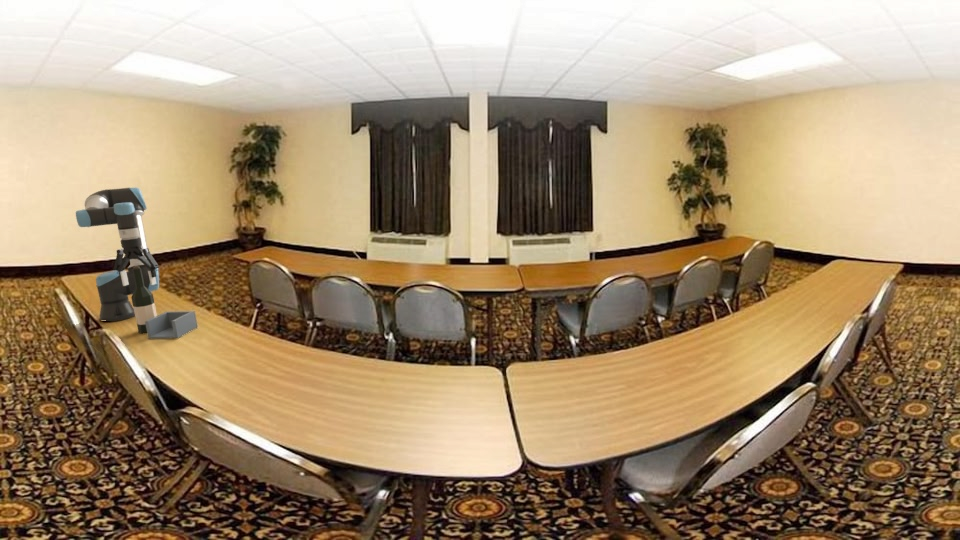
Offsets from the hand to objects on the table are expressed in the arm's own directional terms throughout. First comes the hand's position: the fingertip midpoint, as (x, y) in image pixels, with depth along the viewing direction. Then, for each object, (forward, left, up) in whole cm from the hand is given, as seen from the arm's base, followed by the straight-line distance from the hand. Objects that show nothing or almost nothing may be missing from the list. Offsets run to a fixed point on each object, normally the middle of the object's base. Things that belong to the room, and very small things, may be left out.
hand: (139, 284), depth 246 cm
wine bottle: (0, 0, -22) cm, 22 cm away
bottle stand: (+15, -4, -22) cm, 27 cm away
